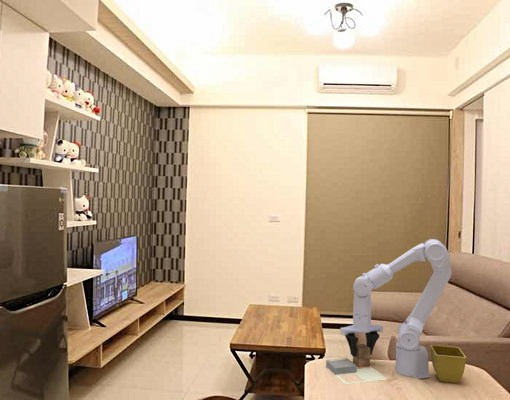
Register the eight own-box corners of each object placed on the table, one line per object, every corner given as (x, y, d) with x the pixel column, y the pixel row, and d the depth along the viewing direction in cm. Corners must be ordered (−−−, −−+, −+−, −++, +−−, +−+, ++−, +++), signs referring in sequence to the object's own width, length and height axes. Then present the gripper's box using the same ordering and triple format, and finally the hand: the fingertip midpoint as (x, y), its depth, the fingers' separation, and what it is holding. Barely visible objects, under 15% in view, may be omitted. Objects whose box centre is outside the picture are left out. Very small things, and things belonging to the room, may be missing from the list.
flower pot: (466, 387, 128) (466, 357, 127) (435, 384, 129) (435, 354, 129) (458, 374, 136) (459, 346, 136) (429, 372, 138) (429, 344, 138)
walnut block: (363, 361, 143) (363, 343, 142) (369, 366, 139) (370, 348, 139) (352, 362, 141) (353, 344, 141) (358, 367, 138) (359, 349, 138)
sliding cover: (346, 364, 141) (347, 357, 141) (356, 372, 134) (356, 365, 134) (326, 366, 139) (326, 359, 139) (335, 374, 132) (335, 367, 132)
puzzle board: (363, 363, 144) (363, 360, 144) (387, 382, 130) (387, 378, 130) (323, 368, 140) (323, 364, 140) (344, 387, 126) (344, 383, 126)
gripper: (375, 309, 146) (374, 348, 146) (336, 311, 142) (335, 352, 142) (386, 314, 139) (385, 356, 139) (346, 317, 135) (345, 360, 135)
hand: (361, 354), depth 140 cm, fingers open, 5 cm apart
